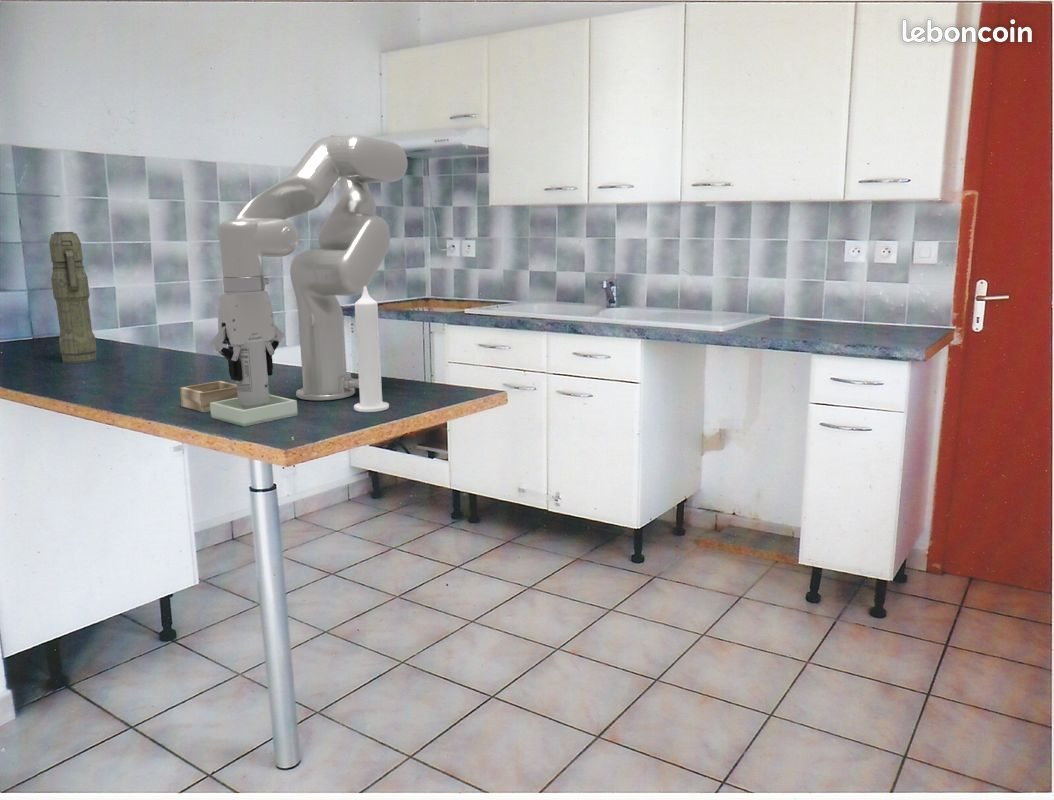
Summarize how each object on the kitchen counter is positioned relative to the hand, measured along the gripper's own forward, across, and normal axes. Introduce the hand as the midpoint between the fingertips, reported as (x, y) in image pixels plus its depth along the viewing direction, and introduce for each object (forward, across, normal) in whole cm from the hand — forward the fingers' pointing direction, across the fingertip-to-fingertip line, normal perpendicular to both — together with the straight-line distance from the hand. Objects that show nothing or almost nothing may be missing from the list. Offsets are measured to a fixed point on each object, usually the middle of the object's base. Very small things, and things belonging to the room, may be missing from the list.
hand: (251, 376), depth 173 cm
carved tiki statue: (+8, -7, -98) cm, 99 cm away
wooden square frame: (+8, 0, -16) cm, 18 cm away
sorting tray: (+8, 0, 0) cm, 8 cm away
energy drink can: (+6, 0, 0) cm, 6 cm away
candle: (+8, -19, +13) cm, 24 cm away
